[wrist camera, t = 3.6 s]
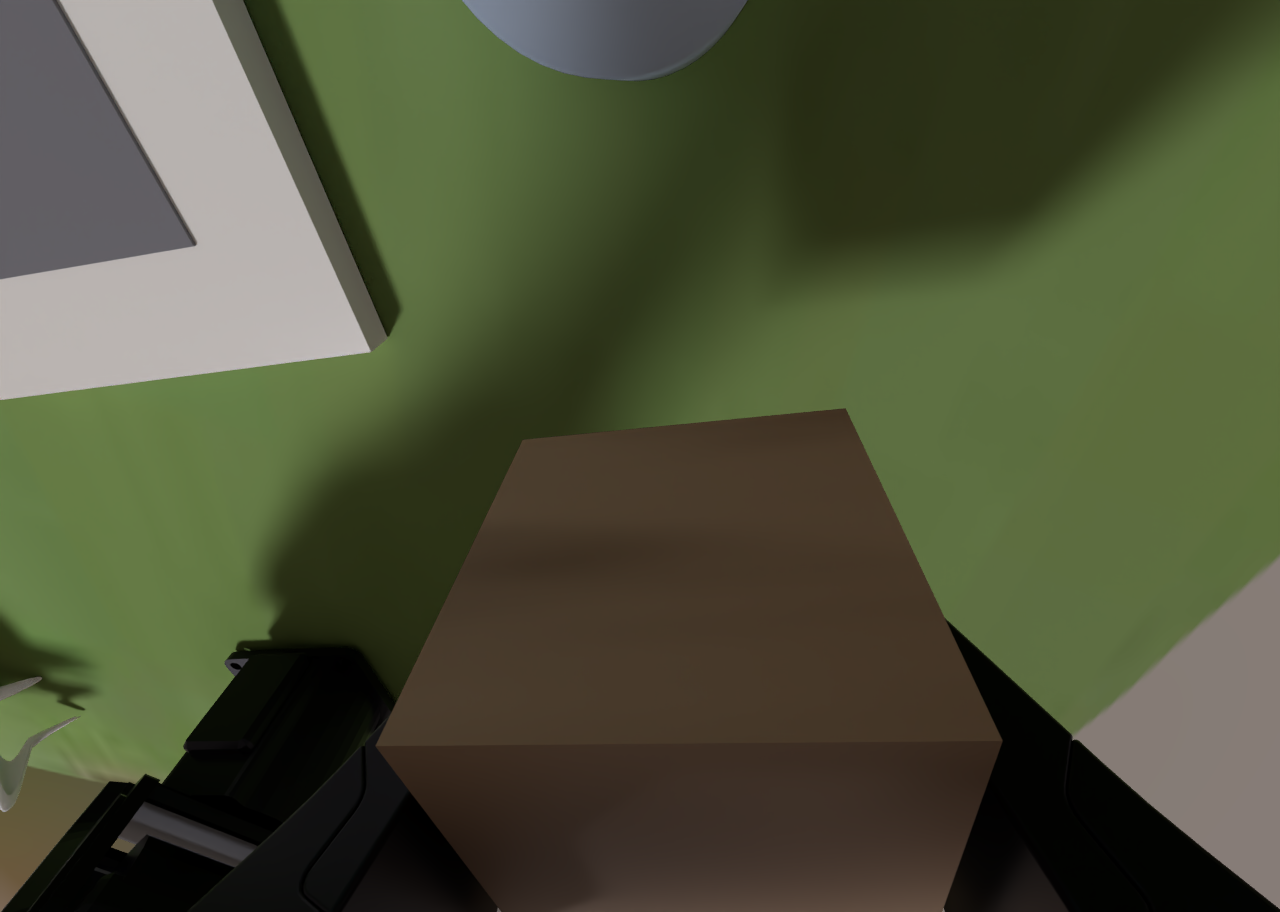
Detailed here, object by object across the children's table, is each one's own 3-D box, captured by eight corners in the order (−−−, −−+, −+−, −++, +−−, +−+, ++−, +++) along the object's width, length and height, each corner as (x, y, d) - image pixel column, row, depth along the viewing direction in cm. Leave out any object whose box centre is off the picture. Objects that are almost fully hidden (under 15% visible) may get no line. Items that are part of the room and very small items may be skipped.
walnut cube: (834, 631, 11) (922, 968, 7) (587, 640, 12) (528, 947, 8) (845, 408, 8) (1002, 742, 4) (522, 439, 9) (375, 746, 5)
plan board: (387, 338, 16) (369, 353, 15) (22, 386, 18) (-14, 402, 17) (65, -415, 9) (-6, -471, 8) (-474, -199, 11) (-580, -224, 10)
